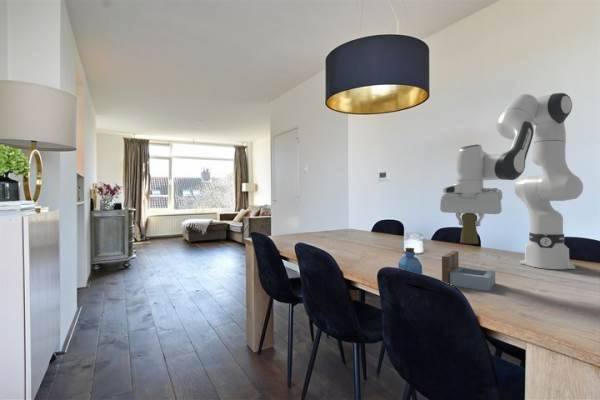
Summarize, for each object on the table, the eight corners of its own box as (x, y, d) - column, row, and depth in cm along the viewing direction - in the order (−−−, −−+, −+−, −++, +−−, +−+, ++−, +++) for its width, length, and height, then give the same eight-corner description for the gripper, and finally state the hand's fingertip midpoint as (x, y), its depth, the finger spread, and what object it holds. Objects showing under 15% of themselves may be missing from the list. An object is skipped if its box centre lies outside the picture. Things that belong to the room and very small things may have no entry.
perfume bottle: (398, 278, 122) (398, 247, 122) (414, 278, 123) (414, 246, 123) (405, 283, 116) (405, 250, 116) (422, 282, 117) (421, 249, 116)
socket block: (458, 278, 122) (458, 266, 122) (495, 283, 114) (495, 270, 114) (449, 285, 113) (449, 272, 112) (489, 291, 105) (488, 277, 105)
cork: (480, 244, 117) (480, 213, 117) (462, 243, 118) (462, 213, 118) (475, 241, 123) (475, 212, 122) (458, 241, 124) (458, 212, 124)
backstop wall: (452, 276, 124) (452, 250, 124) (458, 277, 123) (458, 251, 123) (442, 284, 113) (441, 256, 113) (448, 285, 112) (447, 257, 112)
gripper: (503, 188, 116) (503, 226, 116) (443, 188, 129) (443, 223, 129) (500, 187, 111) (500, 227, 111) (438, 188, 124) (438, 224, 124)
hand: (469, 225), depth 120 cm, fingers closed on cork, 4 cm apart
